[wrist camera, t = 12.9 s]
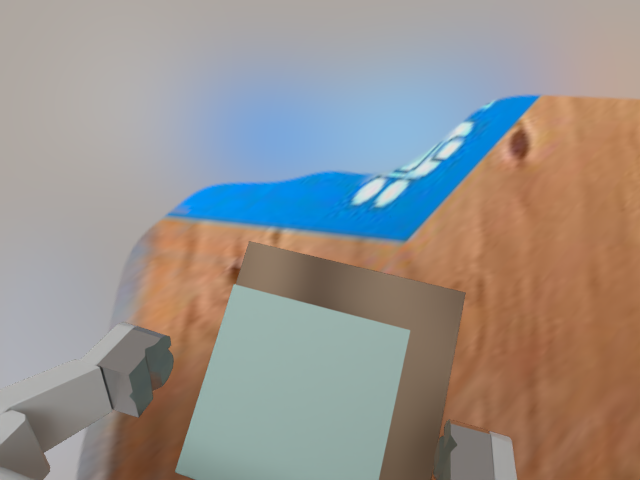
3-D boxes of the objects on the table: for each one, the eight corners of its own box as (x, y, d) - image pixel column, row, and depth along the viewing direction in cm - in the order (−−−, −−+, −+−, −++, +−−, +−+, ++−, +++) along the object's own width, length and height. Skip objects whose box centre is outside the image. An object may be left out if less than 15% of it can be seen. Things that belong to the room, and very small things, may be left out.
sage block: (396, 336, 17) (410, 330, 11) (368, 460, 16) (365, 541, 10) (285, 306, 18) (233, 284, 11) (253, 422, 17) (174, 472, 10)
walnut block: (445, 304, 22) (465, 292, 17) (407, 501, 20) (417, 550, 15) (274, 262, 24) (249, 241, 19) (222, 438, 22) (179, 465, 17)
